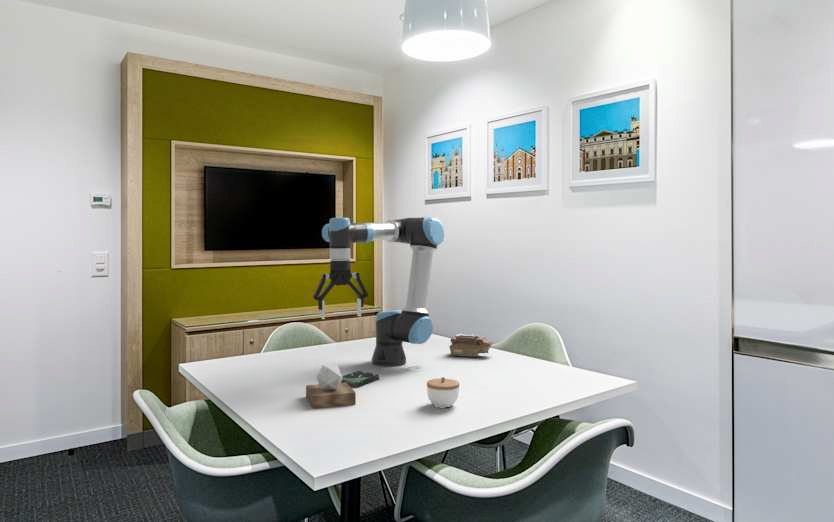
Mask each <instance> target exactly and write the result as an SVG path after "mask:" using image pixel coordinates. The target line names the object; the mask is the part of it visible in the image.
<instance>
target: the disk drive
mask: <svg viewBox="0 0 834 522" xmlns="http://www.w3.org/2000/svg"><path fill="white" fill-rule="evenodd" d="M341 376H342V378H343V379H342V381H341V383H342V382H346V383H347V384H348V385H349V386H350V387H351V388H355V389H359V388H362V387H363V386H367V385H369V384H372V383H374V382H377V381H379V380H380V374H379V373H375V372H374V373H373V372H368V371H367V372H363V371H362V370H361V371H360V370H356V371H354V372H350V373H347V374H345V375H341Z"/></svg>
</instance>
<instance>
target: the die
mask: <svg viewBox="0 0 834 522" xmlns="http://www.w3.org/2000/svg"><path fill="white" fill-rule="evenodd" d="M342 376H343V375H342V374H341V370H340V368H339V366H338V364H337V365H336V364H335V365H331V364H330V365H329V364H328V365H327V364H326V365H325V364H324V365H322V366H321V368H320V369H319V371H318V372H317V375H316V380H317V383H318V384H319V385H320V388H321V390H337V388H338V386H339V384H340V383H341V381H342V379H343V378H342Z"/></svg>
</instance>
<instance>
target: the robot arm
mask: <svg viewBox="0 0 834 522" xmlns="http://www.w3.org/2000/svg"><path fill="white" fill-rule="evenodd" d="M321 236H322V239H323V240H324V241H325V242H327V243H329V259H330V261H329V273H321V276H320V281H319V283H318V285H317V287H316V289H315V292H314V294H313V296H312V299H313V300H315V301H317V308H318V310H319V311H320V316H321V318H320V319H321V320H325V319H326V317H325V316H326V313H325V311H326V309H325V307H326V306H325V305H326V304H325V303H326V302H325V301H324V299H325V298H326V296H327V295H328V294H329V292H331V290H332V289H333V287H334V286H337V287H338V286H346V285H348V288H350V289H351V290H352V291H353V292H354V294H356V296H357V297H358V298H356V315H357V317H359V318H360V317H362V308H364V299H365V298H367V297H369V294H368V291H367V290H366V287H365V285H364V283H363V282H362V280H361V276H360V272H358V271H355V272H353V273H352V270H351V269H352V267H351V264H352V262H351V260H350V259H351V258H352V257H351V244H359V243H360V244H366V243H370V242H372V241H373V242H375V241H386V242H389V243H400V244H407V245H409V247H410V249H411V250H412V255H411V257H412V258H411V263H410V269H409V270H410V271H409V279H408V288H407V294H406V296H407V297H406V304H405V306H404V307H403V308H402V309H395V310H394V309H393V310H383V311H378V313H376V317H375V318H376V319H375V348H374V350H373V353H372V357H371V364H373V365H375V366H380V367H398V366H404V365H406V363H407V355H406V353H405V350H404V349H405V348H404V347H403V343H410V344H412V345H422V344H425V343H426V342H428V340H429V339H430V338H431V336H432V334H433V330H434V324H433V320H432V319H431V317H429V315H430V312H429V311H428V310H427V302H428V294H429V288H430V286H429V285H430V277H431V272H432V271H431V269H432V262H433V254H434V252H436V251H437V250H438V246H439V245H441V244H442V243H443V241H444V238H445V229H444V226H443V224H442V222H441V221H440V220H439V219H438V218H436V217H431V216H430V217H429V216H425V217H424V216H422V217H406V218H400V219H392V220H391V219H389V220H387V221H385V222H351V221H350V218H349V217H332V218H329V223H326V224H325V225H323V227H322V229H321ZM351 278H353V279H355V282H356V283H357V285H358V288H360V289H358V288H357V287H356V286H355V285H354V284H353V282H352V281H351ZM328 279H330V282H329V283H328V285H327V286H326V287H325V289H324V290H323V291H322V289H323V288H324V285H325V283H326V281H327V280H328ZM359 290H360V291H361V292H360V291H359Z"/></svg>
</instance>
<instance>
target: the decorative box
mask: <svg viewBox="0 0 834 522" xmlns="http://www.w3.org/2000/svg"><path fill="white" fill-rule="evenodd" d="M493 344H494V343H493V340H486V337H484V336H481V335H480V334H476V333H473V334H472V333H458V334H455V337H451V338H450V345H449V346H448V347H449V350H450V355H451V356H456V357H458V356H459V357H477V356H479V354H489V350H490V348H491V347H492V346H493Z"/></svg>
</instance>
